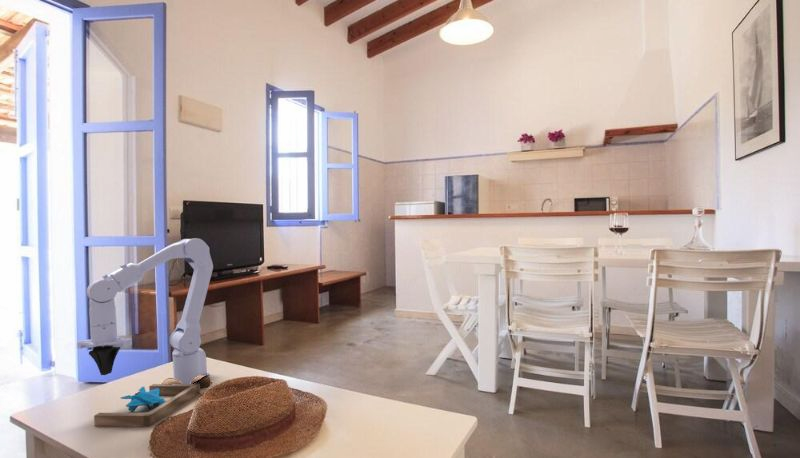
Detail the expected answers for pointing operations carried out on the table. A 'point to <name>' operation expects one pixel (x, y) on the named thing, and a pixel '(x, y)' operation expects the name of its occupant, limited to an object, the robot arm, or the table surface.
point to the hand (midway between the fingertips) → (106, 373)
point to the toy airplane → (144, 399)
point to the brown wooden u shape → (147, 419)
